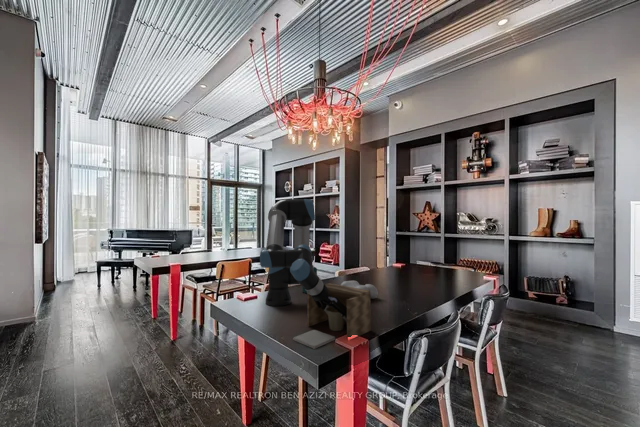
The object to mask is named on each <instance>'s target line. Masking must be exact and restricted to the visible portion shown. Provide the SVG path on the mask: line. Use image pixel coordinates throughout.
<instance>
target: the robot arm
mask: <svg viewBox="0 0 640 427" xmlns="http://www.w3.org/2000/svg"><path fill="white" fill-rule="evenodd" d="M267 220H268V231H267V239H266V246H265V247H266V248H265V249H263V250H260V251H259V252H260V253H259V265H260V267H261V268H262V269H263V268H268V291H267V294H266V298H265V304H266V305H267V306H270V307H271V306H272V307H273V306H274V307H281V306H288V305H289V304H291V303H292V297H291V294H290V291H289V286H292V285H297V286H298V285H300V286H301V287H302V286H303V288H304V289H305V290H306V291H307V293H308V294H310V296H311V297H312V299H313V300H314V301H315V303H316V305H317V306H318V308H322V310H324V311H325V312H326V313H327V311H326V308H328V307H329V306H330V307H331V306H332V307H333V308H334V309H336V310H337V311H338V312H339V313H341V314H342V315H341V316H342V317H343V318H344V319H345V320H346V322H347V307H346V306H345V305H343V304H342V303H341V302H340V301H339V300H338V298H337V297H334V298H332V297H331V295H329V294H328V288H327V287H326V285H325V284H326V283H324V281H323V280H322V279H321V278H320V277H319V275H318V273H317V274H316V273H315V272H314V267H315V266H314V265H313V264H314V261H313V262H312V260H313V253H312V249H311V247H310V234H311V233H310V229H311V228H310V227H311V226H312V225H313V222H314V221H315V220H316V213H315V206H314V201H313V200H312V199H311V198H309V199H307V198H284V199H281V200H278V201H277V202H275V203H274V204H273V205H272V206H271V207H270V208H269V210H268V214H267ZM286 221H291V224H292V225H293V226H294V230H293V232H294V233H293V234H294V240H293V244H294V249H284V241H285V240H284V237H285V223H286ZM307 293H306V294H307ZM331 301H332V302H331ZM330 302H331V303H330ZM326 305H327V306H326Z"/></svg>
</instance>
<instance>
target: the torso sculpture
mask: <svg viewBox="0 0 640 427" xmlns="http://www.w3.org/2000/svg"><path fill="white" fill-rule="evenodd" d="M340 285H342V286H347V287H353V288H358V289H364V290H369V291H370V300H372V299H376V298H377V297H378V296H379V290H378V289H377V287H375V285H373V284H372V283H371V284H370V283H366V284H365V285H364V284H360V283H359V282H358V281H357V280H344V281H342V282H341V283H340Z"/></svg>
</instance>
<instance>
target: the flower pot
mask: <svg viewBox="0 0 640 427" xmlns="http://www.w3.org/2000/svg"><path fill="white" fill-rule="evenodd" d="M326 311H327V314H328V319H329V320H328V327H329V329H330V330H331V331H333V332H338V331H342V330H344V328H345V324H344V320H345V319H344V318H343V317H342V316H341V315H342V314H341V313H339V312H338V311H337V310H336V309H334V308H333V307H328V308H326Z"/></svg>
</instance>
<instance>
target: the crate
mask: <svg viewBox="0 0 640 427" xmlns="http://www.w3.org/2000/svg"><path fill="white" fill-rule="evenodd" d="M324 284H325V285H326V287H327V288H328V294H329V295H331V297H332V298H334V297H337V298H338V300H339V301H340V302H341V303H342V304H343V305H345V306H346V307H347V322H346V320H344V325H346V338H347V337H351V336H352V335H358V337H360V336H362V335H364V334H366V333H369V332H371V330H372V319H371V318H372V316H371V314H372V311H371V307H372V306H371V298H370V291H369V290H364V289H358V288H353V287H347V286H342V285H341V284H335V283H330V282H329V283H324ZM306 297H307V298H306V301H307V302H306V303H307V304H306V310H307V312H306V313H307V316H306V317H307V318H306V322H307V323H306V324H307V325H306V326H307V327H312V326H315V325H318V324H319V323H323V322H326V321H329V319H328V314H327V313H326V312H325V311H324V310H322V308H318V306H317V305H316V303H315V301H314V300H313V299H312V297H311V296H310V294H308V293H306ZM331 302H332V301H331ZM331 302H330V303H331ZM326 306H327V305H326ZM329 307H330V306H329ZM331 307H332V306H331Z"/></svg>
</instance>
